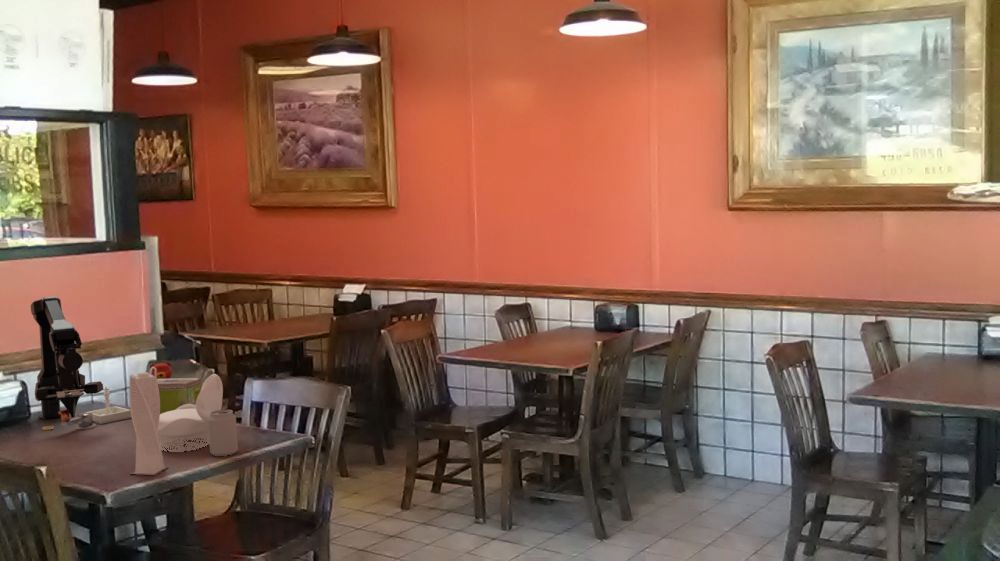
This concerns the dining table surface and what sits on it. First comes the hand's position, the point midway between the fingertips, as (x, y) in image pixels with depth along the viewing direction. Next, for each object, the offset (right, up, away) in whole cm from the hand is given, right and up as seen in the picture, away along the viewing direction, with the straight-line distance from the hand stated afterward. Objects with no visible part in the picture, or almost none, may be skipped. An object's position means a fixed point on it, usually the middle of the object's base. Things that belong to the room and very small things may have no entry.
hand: (73, 417), depth 321 cm
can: (+55, -6, -32) cm, 64 cm away
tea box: (+31, -4, +3) cm, 31 cm away
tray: (+4, -3, +19) cm, 19 cm away
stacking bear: (+22, -2, +18) cm, 29 cm away
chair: (+42, -5, -21) cm, 47 cm away
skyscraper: (+40, -8, -48) cm, 63 cm away
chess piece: (+4, -3, +18) cm, 19 cm away
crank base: (+1, -4, +8) cm, 9 cm away
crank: (-1, -4, +4) cm, 6 cm away
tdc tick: (-11, -5, +7) cm, 13 cm away
